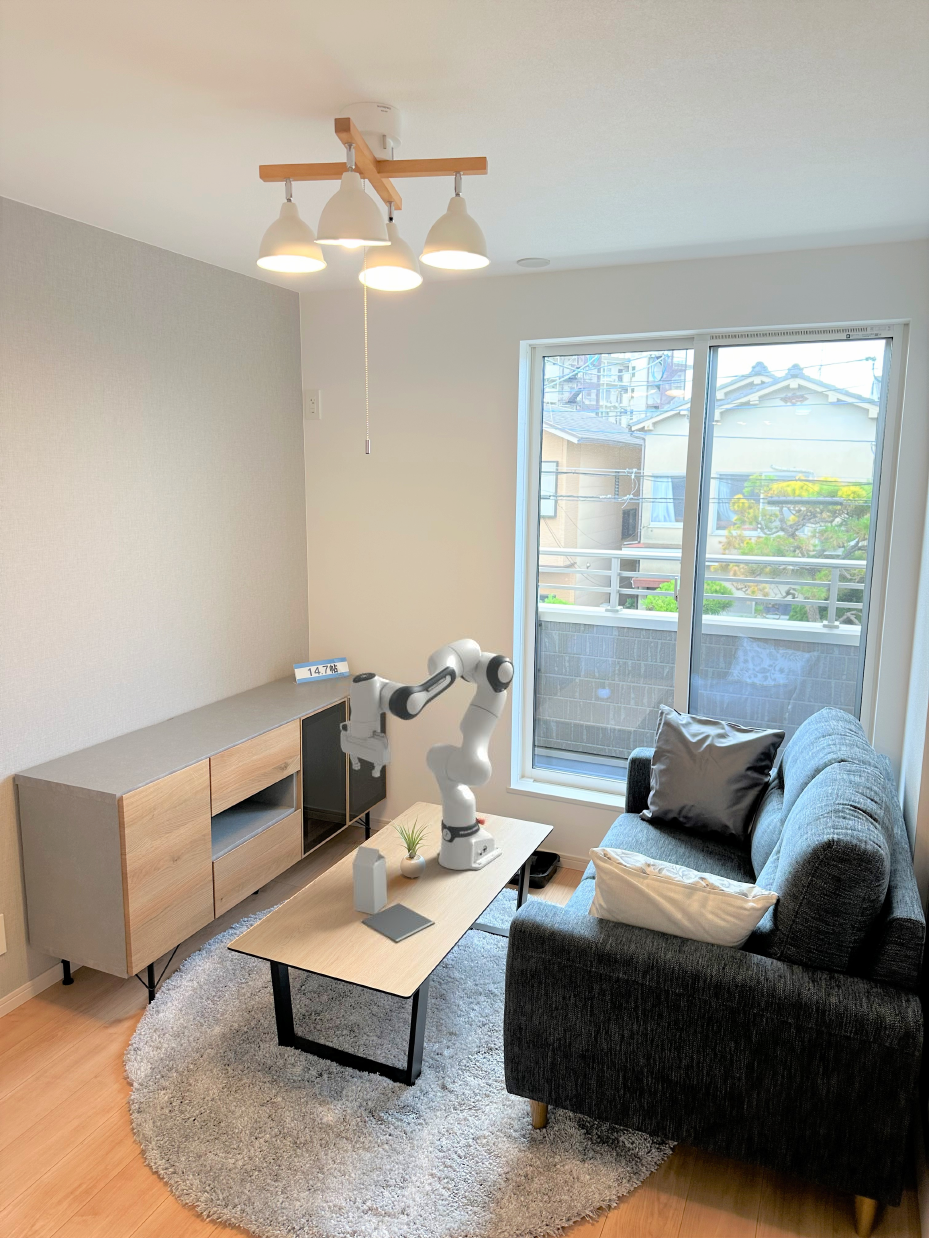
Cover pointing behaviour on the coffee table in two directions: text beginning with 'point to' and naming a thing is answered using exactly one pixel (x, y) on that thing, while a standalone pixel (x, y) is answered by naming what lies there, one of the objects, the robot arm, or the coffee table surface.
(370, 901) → the milk carton
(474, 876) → the coffee table surface
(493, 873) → the coffee table surface
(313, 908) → the coffee table surface
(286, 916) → the coffee table surface
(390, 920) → the mat
